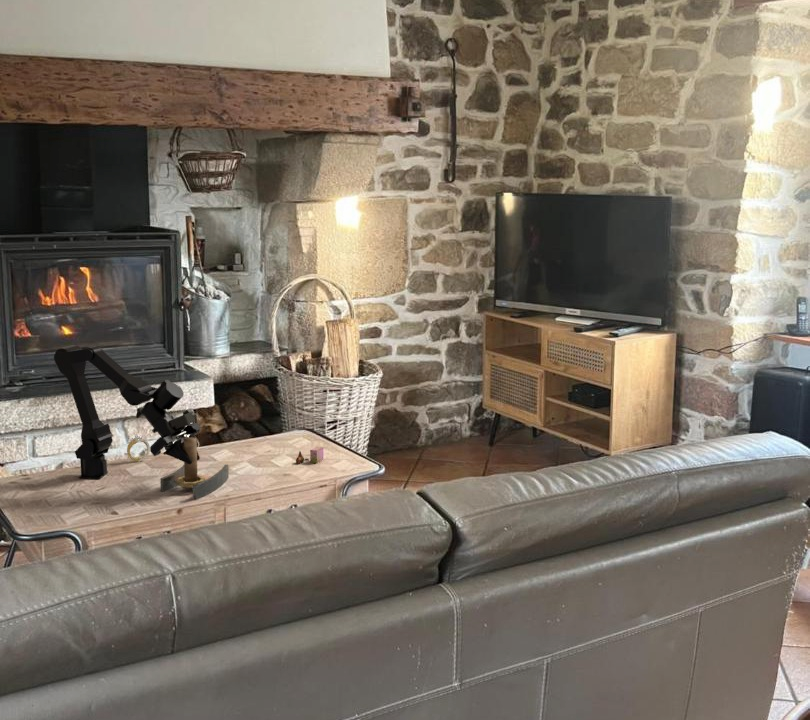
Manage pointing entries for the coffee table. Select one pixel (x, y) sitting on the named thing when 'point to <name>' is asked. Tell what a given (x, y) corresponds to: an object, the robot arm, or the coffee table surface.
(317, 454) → the perfume bottle
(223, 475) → the gray curved bar
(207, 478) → the tile
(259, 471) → the coffee table surface
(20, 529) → the coffee table surface
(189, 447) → the brown cylinder
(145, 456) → the ring
